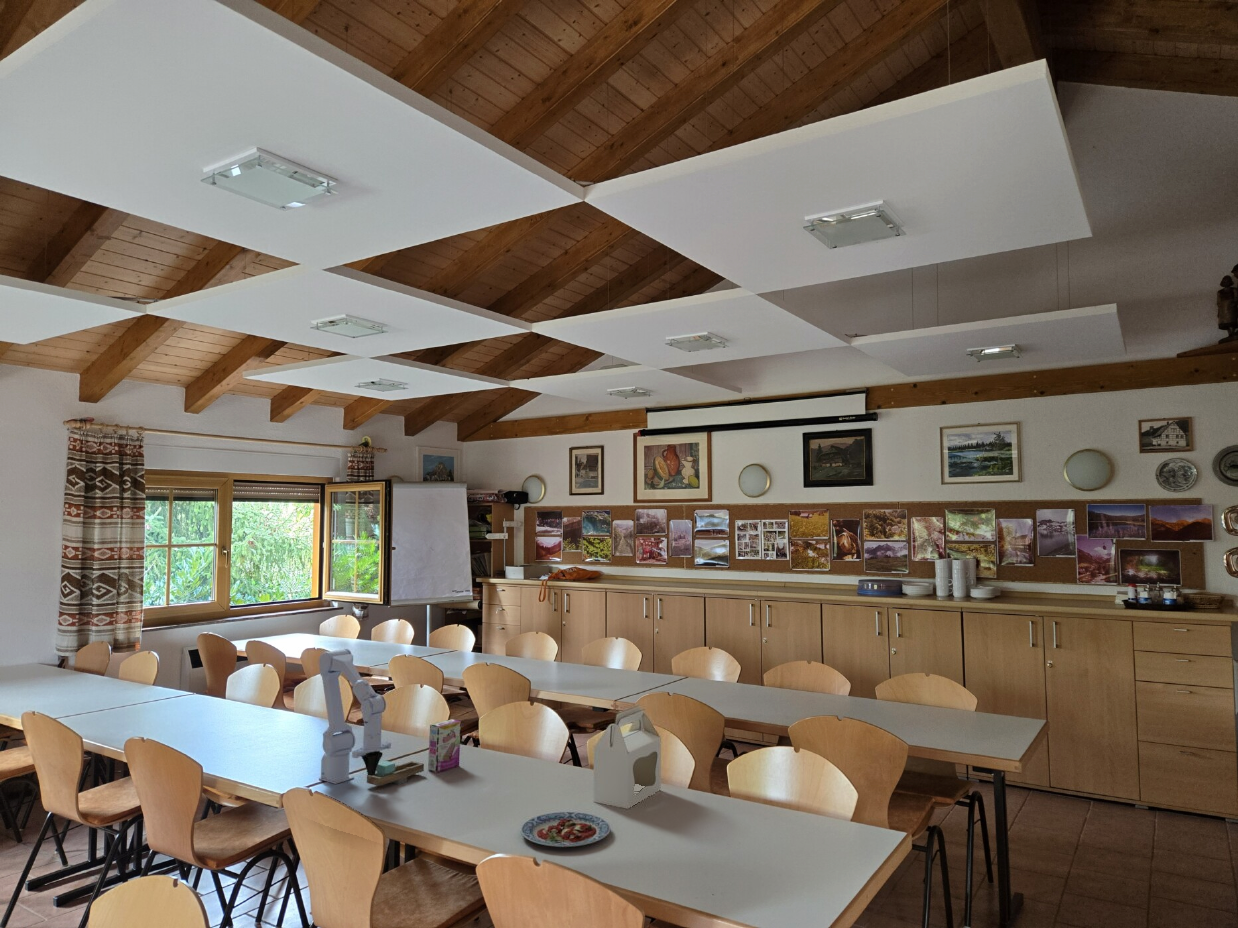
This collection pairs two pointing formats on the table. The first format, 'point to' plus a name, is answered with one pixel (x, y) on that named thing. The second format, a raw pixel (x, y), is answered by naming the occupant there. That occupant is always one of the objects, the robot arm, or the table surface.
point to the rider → (385, 768)
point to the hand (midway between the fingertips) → (371, 774)
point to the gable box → (627, 761)
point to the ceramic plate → (565, 829)
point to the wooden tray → (397, 774)
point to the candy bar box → (444, 745)
